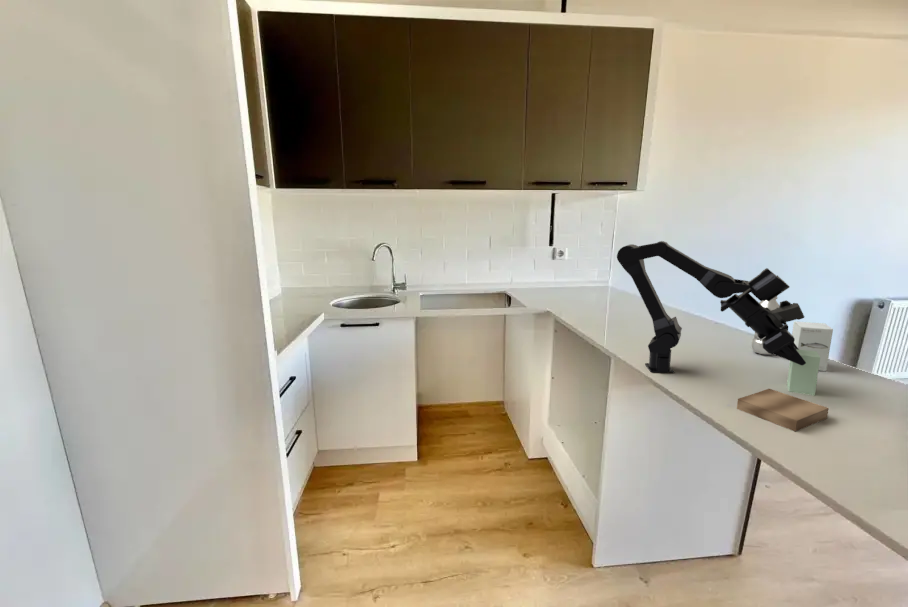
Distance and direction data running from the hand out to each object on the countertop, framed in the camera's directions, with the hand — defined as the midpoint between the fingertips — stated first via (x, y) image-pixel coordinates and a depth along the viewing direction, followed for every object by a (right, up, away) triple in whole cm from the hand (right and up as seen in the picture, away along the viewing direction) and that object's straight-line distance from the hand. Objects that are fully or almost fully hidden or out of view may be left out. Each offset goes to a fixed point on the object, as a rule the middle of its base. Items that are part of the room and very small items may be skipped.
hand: (801, 358), depth 104 cm
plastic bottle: (+12, -2, +28) cm, 31 cm away
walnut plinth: (-13, -11, -10) cm, 20 cm away
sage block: (+1, -8, +1) cm, 8 cm away
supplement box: (+16, -5, +17) cm, 23 cm away
